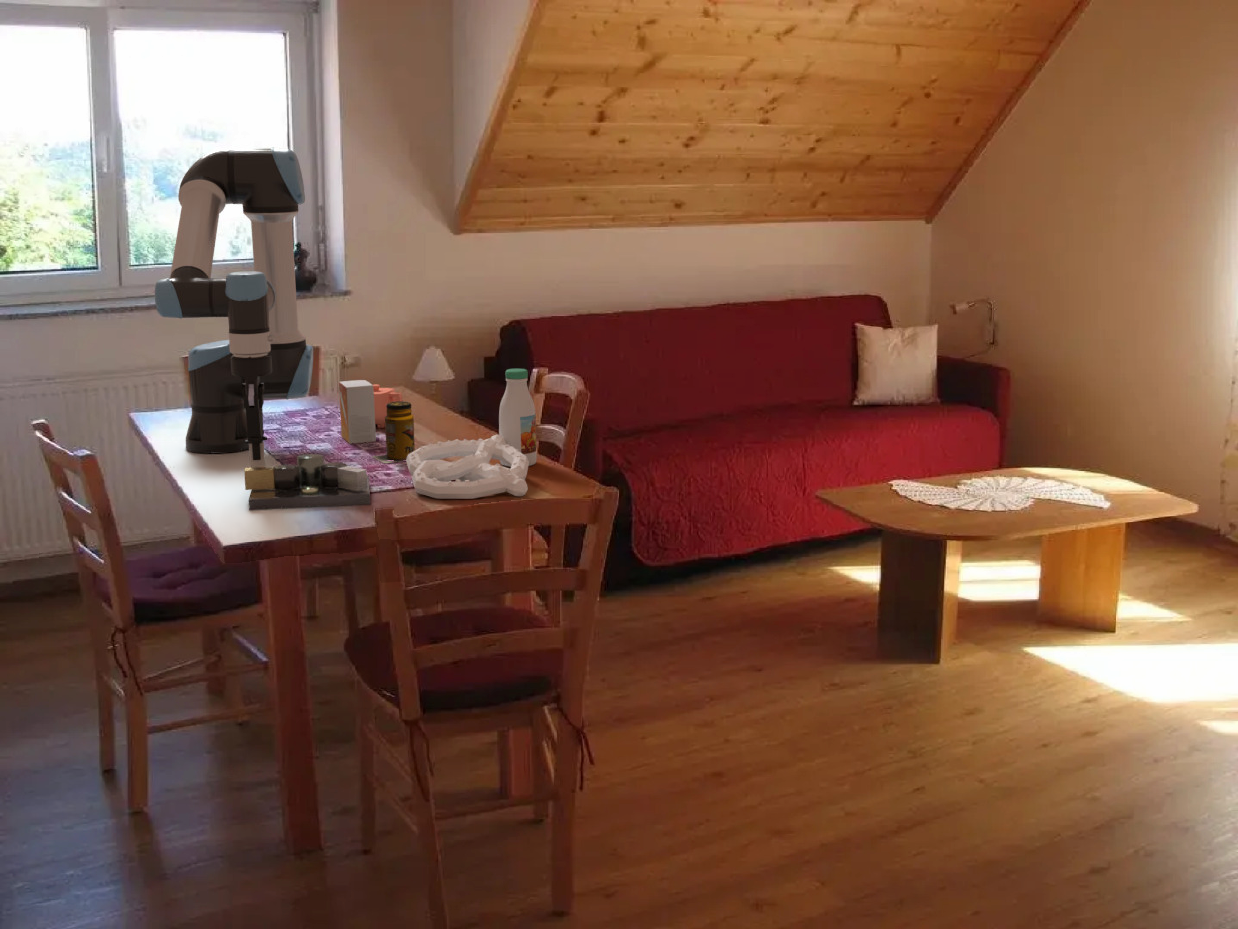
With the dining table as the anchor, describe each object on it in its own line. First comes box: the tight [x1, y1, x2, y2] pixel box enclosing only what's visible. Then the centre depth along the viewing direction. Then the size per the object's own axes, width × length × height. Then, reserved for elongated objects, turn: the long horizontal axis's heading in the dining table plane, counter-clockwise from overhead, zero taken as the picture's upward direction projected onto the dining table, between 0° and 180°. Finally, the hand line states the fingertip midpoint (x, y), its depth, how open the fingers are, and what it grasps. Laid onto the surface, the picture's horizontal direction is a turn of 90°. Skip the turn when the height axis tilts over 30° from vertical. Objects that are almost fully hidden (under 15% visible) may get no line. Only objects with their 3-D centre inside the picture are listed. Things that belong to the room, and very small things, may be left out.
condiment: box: [371, 400, 416, 465], centre depth 299 cm, size 7×8×12 cm
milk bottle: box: [498, 368, 538, 468], centre depth 293 cm, size 8×8×20 cm
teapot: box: [372, 383, 404, 429], centre depth 334 cm, size 12×12×10 cm
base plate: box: [248, 453, 371, 511], centre depth 267 cm, size 15×22×7 cm
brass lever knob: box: [243, 464, 300, 491], centre depth 266 cm, size 5×10×4 cm, turn 100°
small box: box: [338, 379, 377, 445], centre depth 317 cm, size 8×6×13 cm
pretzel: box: [405, 433, 530, 500], centre depth 277 cm, size 28×24×6 cm
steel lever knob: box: [320, 462, 368, 491], centre depth 266 cm, size 5×10×4 cm, turn 55°
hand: (258, 475), depth 271 cm, fingers closed
